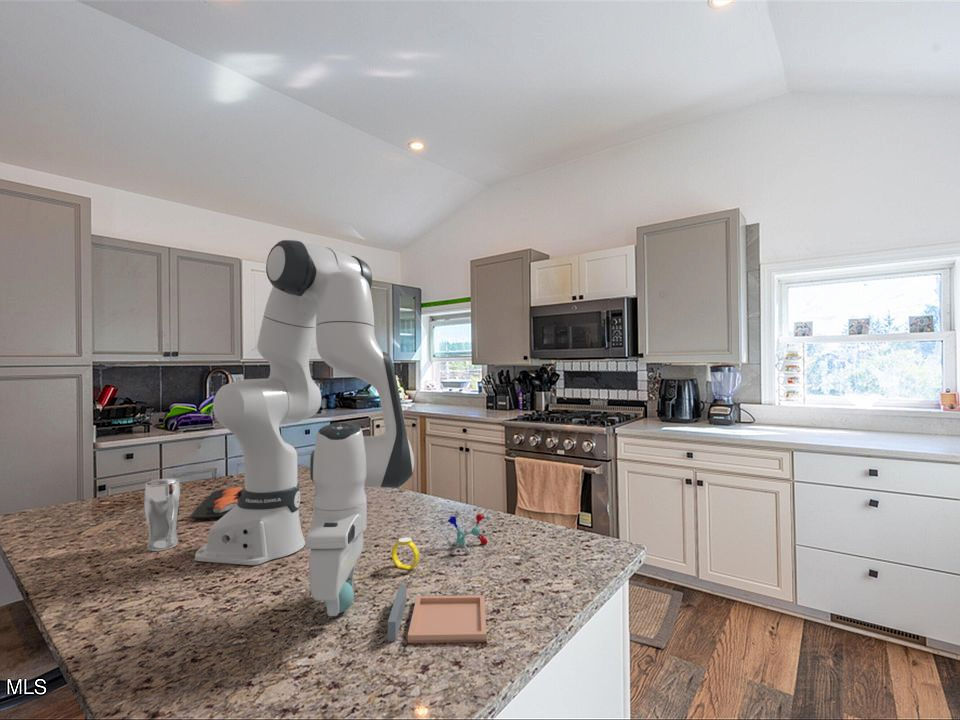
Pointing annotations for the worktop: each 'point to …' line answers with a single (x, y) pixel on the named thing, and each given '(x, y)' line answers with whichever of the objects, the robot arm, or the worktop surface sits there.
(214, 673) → the worktop surface
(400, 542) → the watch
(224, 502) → the sushi plate
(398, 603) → the block
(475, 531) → the molecular model
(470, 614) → the dish
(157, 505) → the beer glass
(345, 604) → the ball
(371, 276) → the robot arm
